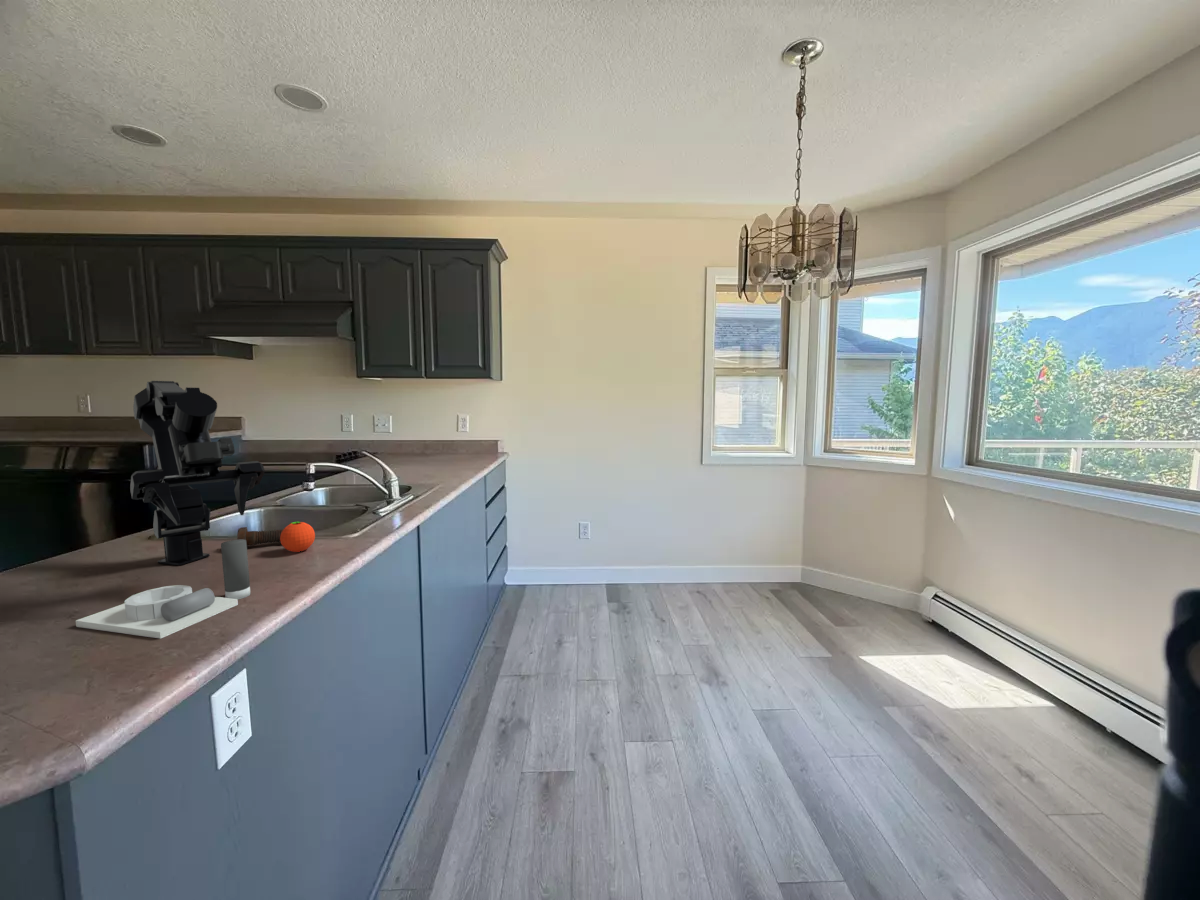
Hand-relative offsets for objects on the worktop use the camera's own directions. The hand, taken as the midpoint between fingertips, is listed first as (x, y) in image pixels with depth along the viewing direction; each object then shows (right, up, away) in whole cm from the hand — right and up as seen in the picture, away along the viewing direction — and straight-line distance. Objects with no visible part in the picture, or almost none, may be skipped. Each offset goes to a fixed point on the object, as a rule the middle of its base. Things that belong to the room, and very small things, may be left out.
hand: (211, 519), depth 86 cm
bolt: (-9, -11, +30) cm, 34 cm away
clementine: (-1, -11, +25) cm, 28 cm away
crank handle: (+5, -14, 0) cm, 15 cm away
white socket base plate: (-2, -15, -8) cm, 17 cm away
